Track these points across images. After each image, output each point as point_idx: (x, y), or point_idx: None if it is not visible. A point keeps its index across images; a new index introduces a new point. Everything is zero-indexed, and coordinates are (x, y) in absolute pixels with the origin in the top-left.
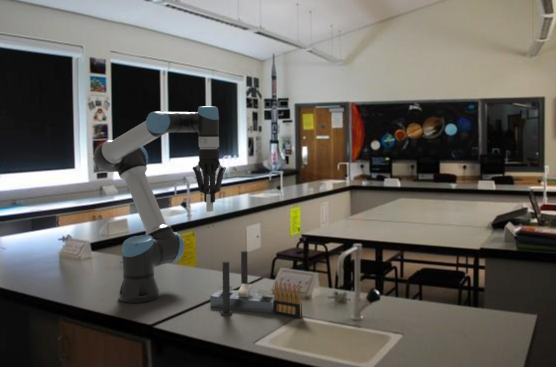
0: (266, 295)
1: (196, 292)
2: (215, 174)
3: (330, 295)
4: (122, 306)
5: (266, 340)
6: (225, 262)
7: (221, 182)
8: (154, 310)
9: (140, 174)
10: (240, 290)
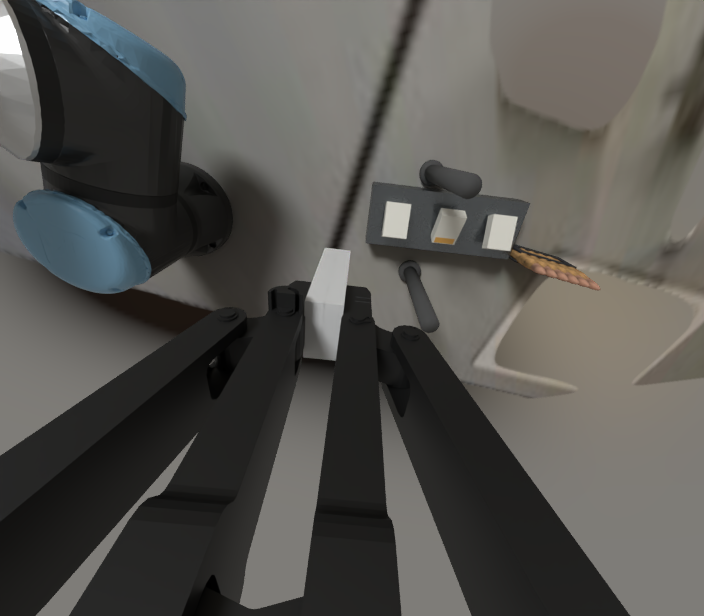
0: (496, 213)
1: (294, 140)
2: (390, 542)
3: (678, 73)
4: (200, 270)
5: (489, 355)
6: (429, 327)
7: (480, 416)
8: (270, 278)
9: None
10: (438, 237)
